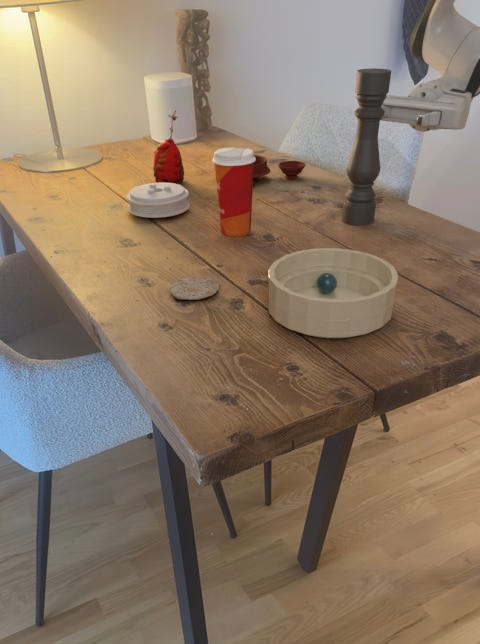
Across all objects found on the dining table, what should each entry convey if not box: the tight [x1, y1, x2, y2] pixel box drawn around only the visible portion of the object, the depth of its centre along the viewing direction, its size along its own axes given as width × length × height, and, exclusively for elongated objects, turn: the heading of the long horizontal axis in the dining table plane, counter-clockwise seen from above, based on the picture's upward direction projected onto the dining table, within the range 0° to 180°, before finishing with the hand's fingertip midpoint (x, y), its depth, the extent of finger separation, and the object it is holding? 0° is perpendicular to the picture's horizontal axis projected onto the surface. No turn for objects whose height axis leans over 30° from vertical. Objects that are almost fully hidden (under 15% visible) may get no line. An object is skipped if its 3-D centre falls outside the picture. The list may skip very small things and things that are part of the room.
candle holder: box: [341, 67, 392, 226], centre depth 103 cm, size 6×6×25 cm
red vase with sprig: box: [152, 110, 185, 184], centre depth 129 cm, size 8×7×15 cm
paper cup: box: [211, 146, 256, 237], centre depth 103 cm, size 8×8×14 cm
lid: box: [125, 182, 191, 219], centre depth 115 cm, size 13×13×5 cm
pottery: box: [253, 154, 307, 183], centre depth 132 cm, size 12×20×4 cm, turn 94°
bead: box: [317, 273, 337, 294], centre depth 83 cm, size 3×3×3 cm
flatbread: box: [169, 275, 220, 301], centre depth 87 cm, size 8×8×1 cm
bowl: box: [267, 247, 399, 339], centre depth 80 cm, size 18×18×6 cm
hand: (397, 118), depth 108 cm, fingers open, 8 cm apart
